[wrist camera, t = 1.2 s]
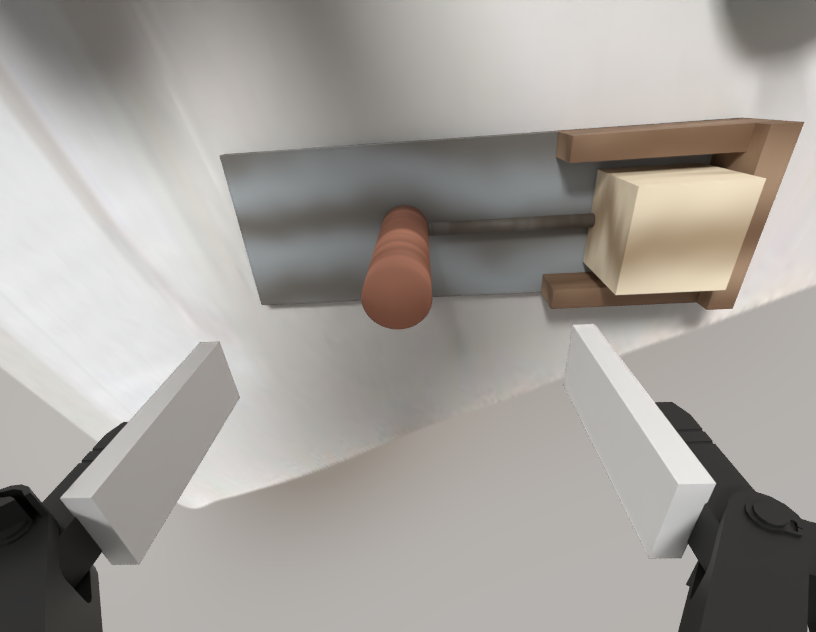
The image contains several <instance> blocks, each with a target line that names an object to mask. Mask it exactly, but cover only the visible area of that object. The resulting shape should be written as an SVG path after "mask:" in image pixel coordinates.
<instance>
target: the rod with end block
mask: <svg viewBox="0 0 816 632" xmlns="http://www.w3.org/2000/svg"><path fill="white" fill-rule="evenodd" d="M765 181H766V178H762V177H758V176H754V175H750V174H745V173H741V172H737V171H733V170H729V169H725V168H720V167H716V166H712V165H708V164H704V163H688V164H672V165H657V166H641V167H626V168H610V169H598V172H597V178H596V184H595V190H594V196H593V203H592V209H591V213H586V214H568V215H551V216H534V217H517V218H500V219H483V220H466V221H448V222H431V223H427V220H426V218H425V216H424V215H423V213H422V212H421V211H419V210H418V209H416V208H414V207H412V206H407V205H403V206H398V207H395V208H393V209H391V210H390V211H389V212H388V213H387V214H386V216H385V217H384V219H383V222H382V225H381V229H380V232H379V235H378V239H377V242H376V245H375V249H374V252H373V255H372V259H371V262H370V265H369V268H368V272H367V275H366V278H365V282H364V285H363V288H362V293H361V300H362V305H363V308H364V310H365V312H366V313H367V315H368V316H369V317H370V318H371V319H372V320H373V321H374V322H376V323H377V324H379V325H381V326H383V327H386V328H390V329H405V328H409V327H412V326H414V325H416V324H418V323H419V322H421V321H422V320H423V319H424V318H425V317H426V315H427V314H428V312H429V310H430V308H431V304H432V286H431V268H430V251H429V236H440V235H457V234H475V233H493V232H511V231H528V230H546V229H564V228H582V227H588V234H587V240H586V246H585V252H584V258H583V262H584V263H585V264H586V265H587V266H588V267H589V268H590V269H591V270H592V271H593V272H594V274H595V275H596V276H597V277H598V278H599V279H600V280H601V281H602V282H603V283H604V284H605V285H606V286H607V287H608V288H609V289H610V290H611V291H612V292H613V293H614V294H615V295H629V294H651V293H672V292H694V291H715V290H726V288H727V285H728V282H729V279H730V277H731V274H732V271H733V268H734V266H735V263H736V260H737V257H738V255H739V252H740V249H741V247H742V244H743V241H744V238H745V236H746V233H747V230H748V227H749V225H750V222H751V219H752V216H753V214H754V211H755V208H756V205H757V203H758V200H759V197H760V194H761V192H762V189H763V186H764V183H765Z"/></svg>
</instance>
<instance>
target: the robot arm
mask: <svg viewBox="0 0 816 632" xmlns="http://www.w3.org/2000/svg"><path fill="white" fill-rule="evenodd" d="M563 385H564V387H565V389H566V391H567V393H568V395H569V397H570V399H571V401H572V403H573V406H574V408H575V409H576V412H577V414H578V416H579V418H580V420H581V422H582V424H583V426H584V428H585V430H586V432H587V434H588V436H589V438H590V440H591V442H592V444H593V446H594V448H595V450H596V452H597V454H598V456H599V458H600V460H601V462H602V464H603V466H604V468H605V470H606V472H607V474H608V476H609V479H610V481H611V483H612V485H613V487H614V489H615V491H616V493H617V495H618V497H619V499H620V501H621V503H622V505H623V507H624V509H625V511H626V513H627V515H628V517H629V519H630V521H631V523H632V525H633V527H634V529H635V531H636V533H637V535H638V537H639V539H640V541H641V543H642V545H643V547H644V549H645V551H646V553H647V555H648V557H649V559H650V558H651V559H652V558H682V556H683V554H684V551H685V549H686V547H687V545H688V544H689V546H690V547H691V549H692V551H693V552H694V554H695V556H696V557H697V559H698V562H697V564H696V566H695V568H694V570H693V572H692V574H691V576H690V578H689V580H688V582H687V583H686V585H688V586H689V587H690V588H689V592H688V595H687V600H686V603H685V607H684V611H683V615H682V619H681V623H680V626H679V631H678V632H807V624H808V628H809V632H816V523H814V522H809V521H806V520H803V519H801V518H800V517H799V516H798V515H797V514H796V513H795V512H794V511H792V510H791V509H790V508H789V507H788V506H786V505H785V504H783V503H781V502H779V501H778V500H776V499H774V498H772V497H770V496H767V495H764V494H761V493H758V492H756V491H755V490H754V489H752V487H751V486H750V485H749V484H748V482H747V481H746V480H745V479H744V478H743V477H742V475H741V474H740V473H739V472H738V470H737V469H736V468H735V467H734V466H733V465H732V463H731V462H730V461H729V460H728V459H727V457H726V456H725V455H724V454H723V453H722V452H721V451H720V449H719V448H718V447H717V446H716V444H713V443H712V440H711V439H710V437H709V436H708V435H707V434H706V433H705V432H703V431H702V428H701V427H700V426H699V424H698V423H697V422H696V421H695V420H694V418H693V417H692V416H691V415H690V414H689V413H687V412H686V411H684V410H683V409H682V408H680V407H679V406H677V405H676V404H674V403H673V402H656V403H654V401H653V400H652V399H651V397H650V396H649V395H648V393H647V392H646V391H645V390H644V389H643V387H642V386H641V384H640V383H639V382H638V380H637V379H636V378H635V376H634V375H633V374H632V373H631V371H630V370H629V369H628V367H627V366H626V365H625V363H624V362H623V361H622V359H621V358H620V357H619V355H618V354H617V353H616V351H615V350H614V349H613V348H612V346H611V345H610V344H609V342H608V341H607V340H606V338H605V337H604V336H603V334H602V333H601V332H600V330H599V329H598V328H597V327H596V325H595V324H579V325H572V332H571V338H570V345H569V351H568V358H567V364H566V371H565V378H564V384H563ZM239 398H240V396H239V394H238V391H237V388H236V386H235V383H234V380H233V377H232V375H231V372H230V369H229V366H228V364H227V361H226V358H225V356H224V353H223V350H222V347H221V345H220V342H200V343H199V344H198V345H197V346H196V347H195V349H194V350H193V351H192V352H191V353H190V354H189V355H188V356H187V357H186V359H185V360H184V361H183V362H182V363H181V364H180V365H179V366H178V367H177V369H176V370H175V371H174V372H173V373H172V374H171V375H170V376H169V377H168V379H167V380H166V381H165V382H164V383H163V384H162V385H161V386H160V387H159V389H158V390H157V391H156V392H155V393H154V394H153V395H152V396H151V397H150V399H149V400H148V401H147V402H146V403H145V404H144V405H143V406H142V408H141V409H140V410H139V411H138V412H137V413H136V414H135V415H134V416H133V418H132V419H131V420H130V421H129V422H123V423H121V424H120V425H119V426H117V427H116V428H114V429H113V430H111V431H110V432H109V433H107V434H106V435H105V436H104V437H103V438H102V439H101V440H100V441H99V442H98V443H97V444H96V446H95V447H94V448H93V451H90V452H89V453H88V454H87V455H86V456H85V457H84V458H83V460H82V463H79V464H78V465H77V466H76V467H75V468H74V469H73V470H72V471H71V472H70V473H69V474H68V476H67V477H66V478H65V479H64V480H63V481H62V482H61V483H60V484H59V485H58V486H57V488H55V489H54V491H53V492H52V493H51V494H50V495H49V496H48V497H47V498H46V499H45V500H44V501H43V502H41V501H40V500H39V499H38V498H37V497H36V495H35V494H34V493H33V492H32V490H31V489H30V488H29V487H28V486H24V485H14V486H9V487H6V488H3V489H1V490H0V632H103V631H102V619H101V606H100V593H99V581H98V572H97V571H96V568H95V567H94V565H93V564H94V562H95V561H96V560H97V558H98V557H99V555H100V554H101V552H102V553H103V554H104V555H105V557H106V558H107V559H108V560H109V562H110V563H111V564H112V565H126V564H127V565H129V564H130V565H132V564H133V565H134V564H135V565H136V564H140V562H141V561H142V559H143V557H144V556H145V554H146V552H147V551H148V549H149V547H150V546H151V544H152V542H153V541H154V539H155V537H156V536H157V534H158V532H159V531H160V529H161V528H162V526H163V524H164V522H165V521H166V519H167V518H168V516H169V514H170V513H171V511H172V509H173V507H174V506H175V504H176V503H177V501H178V499H179V498H180V496H181V494H182V493H183V491H184V489H185V488H186V486H187V484H188V483H189V481H190V479H191V478H192V476H193V474H194V473H195V471H196V469H197V468H198V466H199V464H200V463H201V461H202V459H203V458H204V456H205V454H206V453H207V451H208V449H209V448H210V446H211V444H212V443H213V441H214V440H215V438H216V436H217V435H218V433H219V431H220V430H221V428H222V426H223V425H224V423H225V421H226V420H227V418H228V416H229V415H230V413H231V411H232V410H233V408H234V406H235V405H236V403H237V401H238V400H239Z"/></svg>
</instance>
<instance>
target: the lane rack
mask: <svg viewBox="0 0 816 632" xmlns="http://www.w3.org/2000/svg"><path fill="white" fill-rule="evenodd" d="M803 124H804V122H796V121H782V120H767V119H753V118H731V119H717V120H703V121H689V122H675V123H660V124H646V125H632V126H618V127H604V128H589V129H575V130H561V131H547V132H533V133H518V134H504V135H490V136H476V137H462V138H447V139H433V140H419V141H405V142H391V143H376V144H362V145H348V146H334V147H320V148H305V149H291V150H277V151H263V152H249V153H234V154H223V155H220V159H221V163H222V166H223V170H224V173H225V177H226V180H227V184H228V187H229V191H230V194H231V198H232V202H233V205H234V209H235V212H236V216H237V219H238V223H239V226H240V230H241V233H242V237H243V240H244V244H245V248H246V251H247V255H248V258H249V262H250V265H251V269H252V272H253V276H254V279H255V283H256V287H257V290H258V294H259V297H260V301H261V304H262V305H272V304H293V303H314V302H335V301H357V300H361V293H362V288H363V285H364V282H365V278H366V275H367V272H368V268H369V265H370V262H371V259H372V255H373V252H374V249H375V245H376V242H377V239H378V235H379V232H380V229H381V225H382V222H383V219H384V217H385V216H386V214H387V213H388V212H389V211H390V210H391V209H393V208H395V207H398V206H403V205H407V206H412V207H414V208H416V209H418V210H419V211H421V212H422V213H423V215H424V216H425V218H426V220H427V223H431V222H448V221H466V220H483V219H500V218H517V217H534V216H551V215H568V214H586V213H591V209H592V203H593V196H594V190H595V184H596V178H597V172H598V169H610V168H626V167H641V166H657V165H672V164H688V163H704V164H708V165H712V166H716V167H720V168H725V169H729V170H733V171H737V172H741V173H745V174H750V175H754V176H758V177H762V178H766V181H765V183H764V186H763V189H762V192H761V194H760V197H759V200H758V203H757V205H756V208H755V211H754V214H753V216H752V219H751V222H750V225H749V227H748V230H747V233H746V236H745V238H744V241H743V244H742V247H741V249H740V252H739V255H738V257H737V260H736V263H735V266H734V268H733V271H732V274H731V277H730V279H729V282H728V285H727V288H726V290H715V291H694V292H672V293H651V294H629V295H615V294H614V293H613V292H612V291H611V290H610V289H609V288H608V287H607V286H606V285H605V284H604V283H603V282H602V281H601V280H600V279H599V278H598V277H597V276H596V275H595V274H594V272H593V271H592V270H591V269H590V268H589V267H588V266H587V265H586V264H585V263H584V262H583V258H584V252H585V246H586V240H587V234H588V227H582V228H564V229H546V230H528V231H511V232H493V233H475V234H457V235H440V236H429V251H430V268H431V286H432V297H441V296H462V295H483V294H504V293H525V292H541V293H542V294H543V296H544V298H545V299H546V301H547V303H548V304H549V306H550V308H551V309H557V308H579V307H601V306H623V305H646V304H668V303H690V302H697V303H698V304H700V305H701V306H702V307H704V308H705V309H706V310H713V309H733V306H734V303H735V301H736V298H737V296H738V293H739V290H740V288H741V285H742V283H743V280H744V277H745V275H746V272H747V270H748V267H749V264H750V262H751V259H752V257H753V254H754V251H755V249H756V246H757V244H758V241H759V238H760V236H761V233H762V231H763V228H764V225H765V223H766V220H767V218H768V215H769V212H770V210H771V207H772V205H773V202H774V199H775V197H776V194H777V192H778V189H779V186H780V184H781V181H782V179H783V176H784V173H785V171H786V168H787V166H788V163H789V160H790V158H791V155H792V153H793V150H794V147H795V145H796V142H797V140H798V137H799V134H800V132H801V129H802V127H803Z"/></svg>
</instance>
